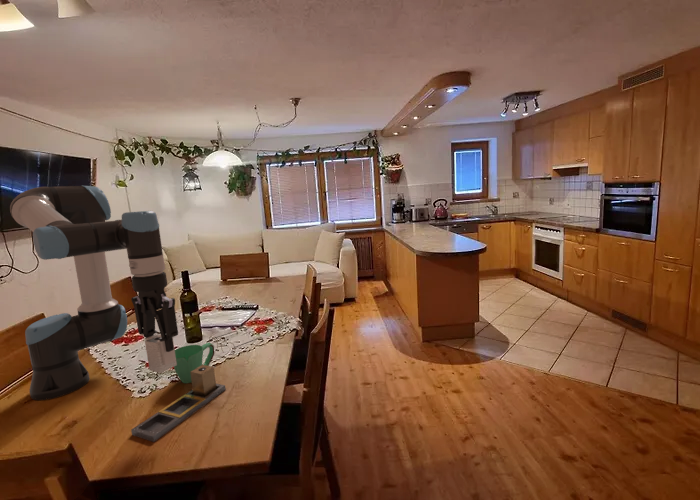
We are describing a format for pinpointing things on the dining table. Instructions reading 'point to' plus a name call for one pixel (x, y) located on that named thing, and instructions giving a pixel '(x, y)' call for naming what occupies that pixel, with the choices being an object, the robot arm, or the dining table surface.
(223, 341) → the eyeglasses
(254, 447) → the dining table surface
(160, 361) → the white rectangular block
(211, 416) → the dining table surface
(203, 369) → the brown rectangular block
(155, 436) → the grey slotted tray
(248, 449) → the dining table surface
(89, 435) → the dining table surface
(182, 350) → the mug
